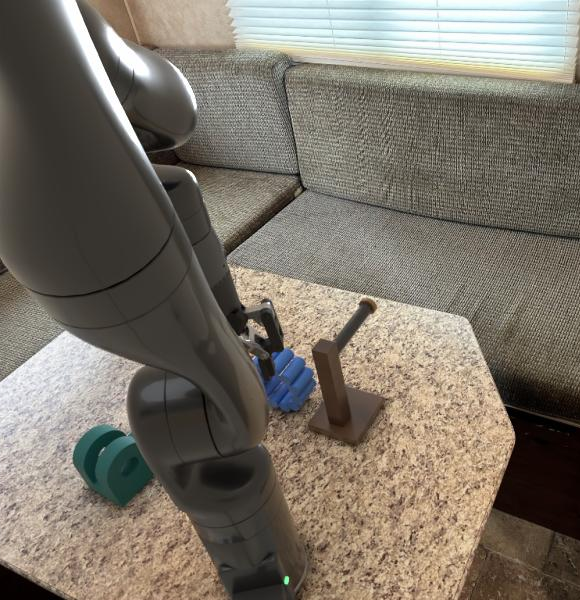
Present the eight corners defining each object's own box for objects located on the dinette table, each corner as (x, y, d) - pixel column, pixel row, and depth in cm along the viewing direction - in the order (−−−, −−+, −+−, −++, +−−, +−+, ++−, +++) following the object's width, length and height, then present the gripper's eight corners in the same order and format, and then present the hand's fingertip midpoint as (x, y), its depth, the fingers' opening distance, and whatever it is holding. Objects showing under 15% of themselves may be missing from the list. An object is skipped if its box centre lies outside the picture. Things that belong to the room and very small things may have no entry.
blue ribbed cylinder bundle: (306, 419, 88) (294, 373, 82) (254, 401, 92) (238, 356, 86) (320, 399, 91) (309, 354, 85) (269, 383, 94) (255, 338, 89)
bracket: (122, 507, 79) (98, 471, 74) (89, 487, 82) (63, 451, 77) (217, 411, 91) (201, 374, 86) (184, 396, 94) (168, 360, 89)
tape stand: (357, 446, 84) (341, 366, 74) (308, 429, 87) (286, 351, 77) (401, 375, 93) (392, 296, 84) (356, 362, 96) (342, 285, 87)
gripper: (108, 307, 57) (165, 419, 67) (260, 281, 58) (293, 395, 68) (123, 261, 63) (173, 371, 73) (261, 239, 64) (291, 350, 74)
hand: (231, 383), depth 70 cm, fingers open, 8 cm apart
